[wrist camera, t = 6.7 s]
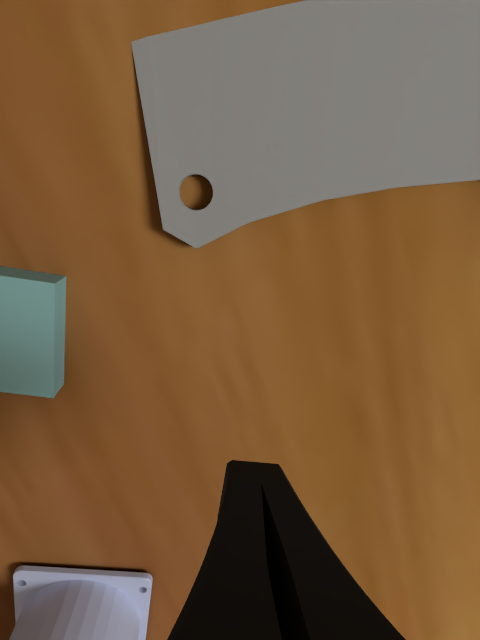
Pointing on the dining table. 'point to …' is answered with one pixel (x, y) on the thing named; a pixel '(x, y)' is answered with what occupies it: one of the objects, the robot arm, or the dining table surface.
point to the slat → (32, 332)
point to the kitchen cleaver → (309, 106)
